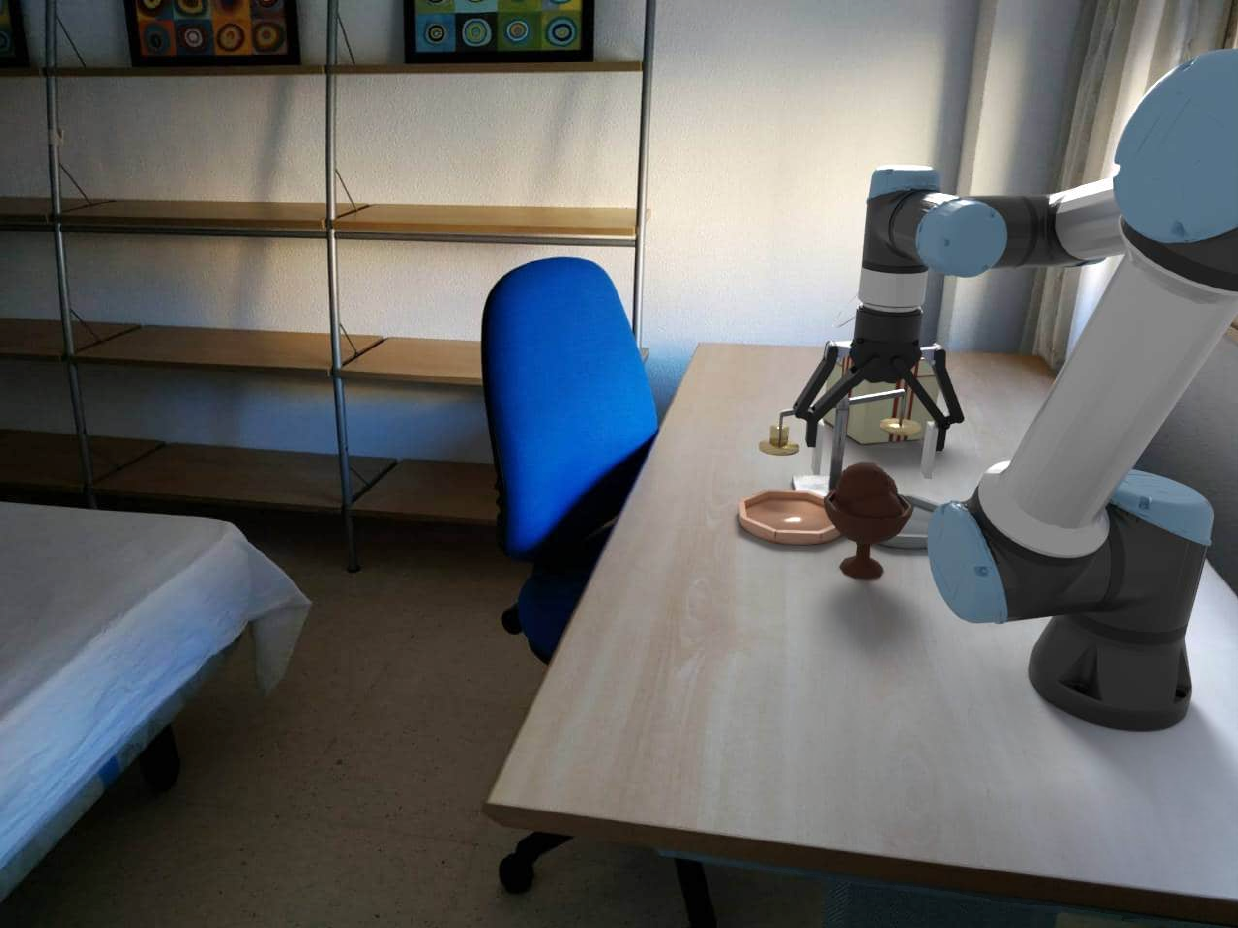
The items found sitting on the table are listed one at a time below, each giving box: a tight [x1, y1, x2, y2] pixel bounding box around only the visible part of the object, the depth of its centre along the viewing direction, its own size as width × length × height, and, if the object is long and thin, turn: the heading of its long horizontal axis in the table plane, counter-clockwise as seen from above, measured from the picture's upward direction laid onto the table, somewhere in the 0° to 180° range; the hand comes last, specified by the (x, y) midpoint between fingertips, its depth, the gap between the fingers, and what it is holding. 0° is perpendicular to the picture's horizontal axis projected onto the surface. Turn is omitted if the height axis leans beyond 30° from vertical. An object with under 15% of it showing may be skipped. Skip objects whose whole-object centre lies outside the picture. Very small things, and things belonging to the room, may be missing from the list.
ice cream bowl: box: [824, 461, 914, 580], centre depth 124 cm, size 11×11×15 cm
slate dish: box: [876, 492, 942, 550], centre depth 139 cm, size 15×15×2 cm
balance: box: [758, 389, 921, 497], centre depth 147 cm, size 8×24×17 cm, turn 86°
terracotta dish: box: [737, 488, 843, 546], centre depth 139 cm, size 15×15×2 cm
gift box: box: [822, 340, 940, 445], centre depth 176 cm, size 17×18×17 cm
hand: (870, 473), depth 122 cm, fingers open, 13 cm apart
